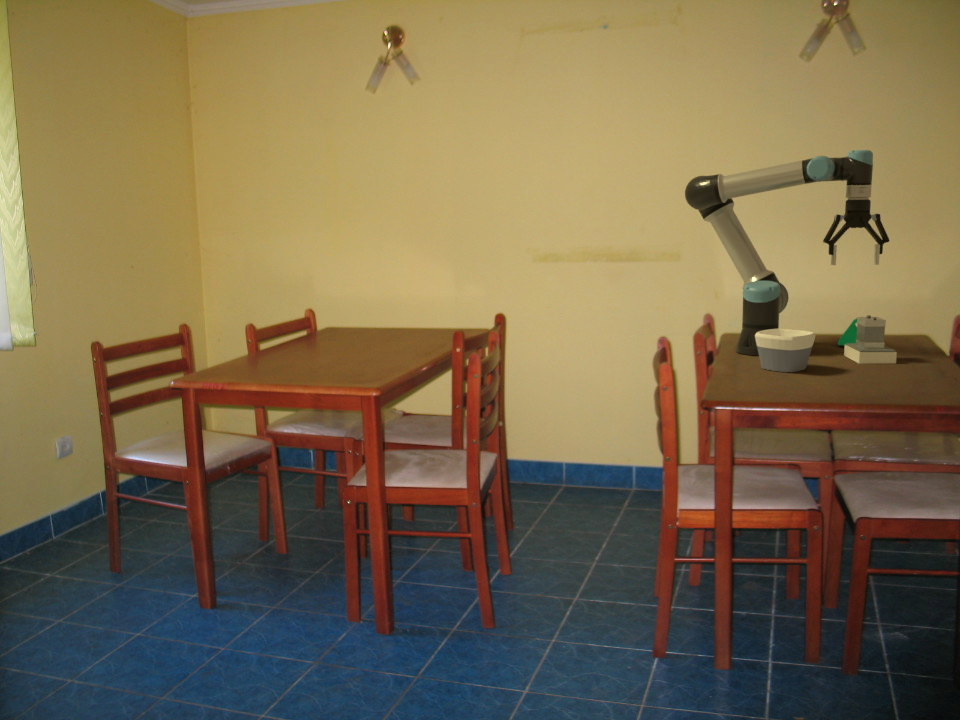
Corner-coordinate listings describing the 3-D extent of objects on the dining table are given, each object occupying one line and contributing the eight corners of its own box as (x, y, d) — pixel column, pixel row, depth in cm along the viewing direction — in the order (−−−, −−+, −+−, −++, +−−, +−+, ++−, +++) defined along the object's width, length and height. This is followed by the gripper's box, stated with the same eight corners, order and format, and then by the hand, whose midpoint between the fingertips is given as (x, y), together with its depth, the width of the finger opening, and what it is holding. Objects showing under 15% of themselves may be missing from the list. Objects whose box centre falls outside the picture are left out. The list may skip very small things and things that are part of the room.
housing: (864, 348, 279) (865, 318, 277) (855, 344, 287) (857, 315, 285) (884, 348, 278) (885, 318, 277) (875, 344, 286) (877, 314, 284)
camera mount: (877, 346, 308) (878, 316, 306) (876, 350, 301) (877, 319, 299) (839, 344, 313) (841, 315, 311) (837, 348, 306) (839, 318, 304)
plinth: (859, 363, 276) (859, 350, 276) (844, 355, 291) (844, 343, 290) (896, 363, 275) (896, 350, 274) (879, 355, 290) (879, 343, 289)
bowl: (746, 369, 271) (748, 332, 269) (775, 362, 281) (776, 327, 279) (792, 375, 260) (794, 337, 258) (820, 368, 269) (822, 332, 268)
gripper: (821, 199, 288) (818, 266, 291) (902, 198, 285) (898, 265, 289) (815, 199, 295) (812, 264, 299) (894, 198, 293) (890, 263, 296)
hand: (854, 264), depth 294 cm, fingers open, 13 cm apart
